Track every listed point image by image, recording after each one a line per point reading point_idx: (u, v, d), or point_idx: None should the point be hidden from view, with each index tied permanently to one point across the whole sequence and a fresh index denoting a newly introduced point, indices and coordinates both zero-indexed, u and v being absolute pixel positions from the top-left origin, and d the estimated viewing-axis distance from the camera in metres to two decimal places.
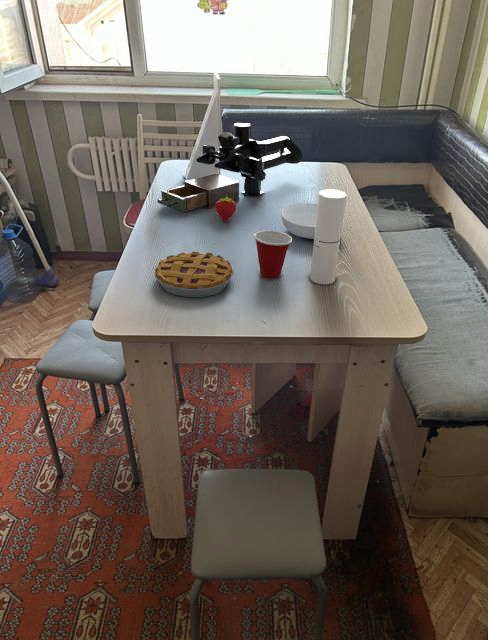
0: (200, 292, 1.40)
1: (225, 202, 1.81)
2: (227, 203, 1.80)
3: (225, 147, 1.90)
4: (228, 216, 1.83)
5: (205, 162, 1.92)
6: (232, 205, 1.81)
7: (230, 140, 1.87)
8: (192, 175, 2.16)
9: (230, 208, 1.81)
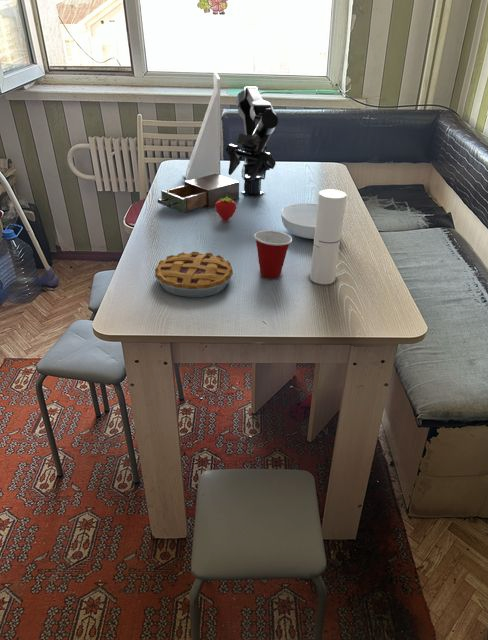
0: (200, 292, 1.40)
1: (225, 202, 1.81)
2: (227, 203, 1.80)
3: (248, 146, 1.81)
4: (228, 216, 1.83)
5: (236, 166, 1.88)
6: (232, 205, 1.81)
7: (250, 143, 1.77)
8: (192, 175, 2.16)
9: (230, 208, 1.81)
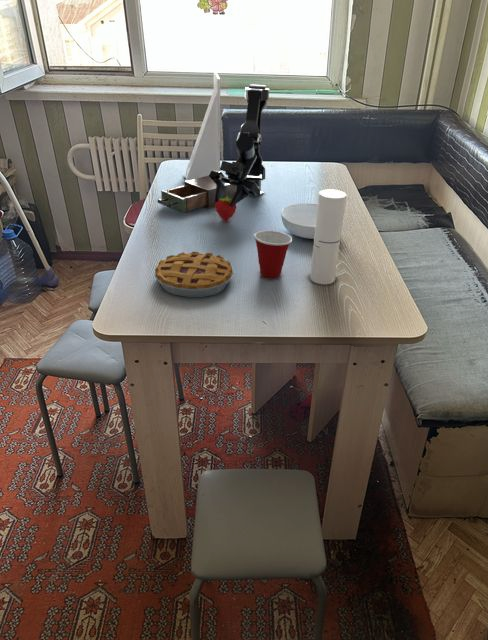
0: (200, 292, 1.40)
1: (225, 202, 1.81)
2: (227, 203, 1.80)
3: (231, 173, 1.79)
4: (228, 216, 1.83)
5: (223, 193, 1.85)
6: None
7: (234, 170, 1.75)
8: (192, 175, 2.16)
9: (230, 208, 1.81)
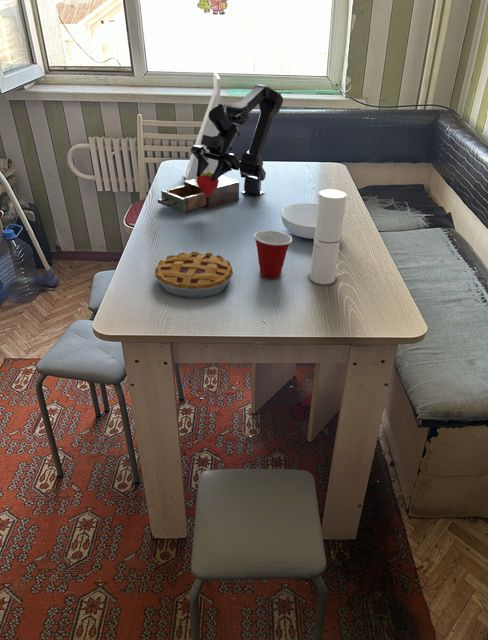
0: (200, 292, 1.40)
1: (207, 177, 1.81)
2: (209, 178, 1.81)
3: (212, 147, 1.80)
4: (210, 191, 1.84)
5: (204, 168, 1.85)
6: None
7: (214, 144, 1.76)
8: (192, 175, 2.16)
9: (212, 182, 1.82)
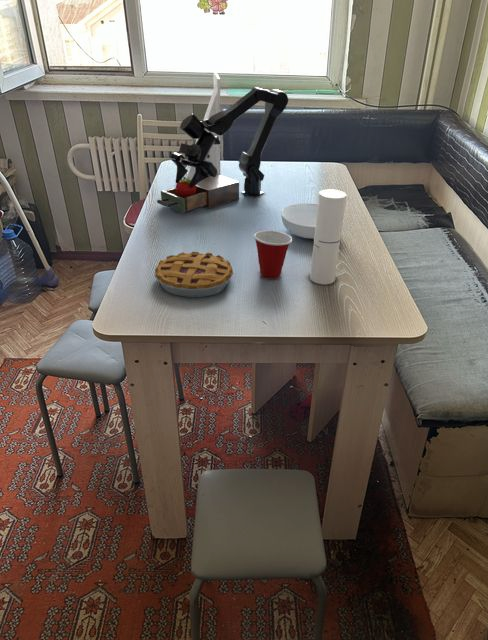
0: (200, 292, 1.40)
1: (185, 183, 1.90)
2: (187, 184, 1.90)
3: (190, 155, 1.88)
4: None
5: (183, 175, 1.94)
6: None
7: (192, 152, 1.84)
8: (192, 175, 2.16)
9: (190, 188, 1.90)
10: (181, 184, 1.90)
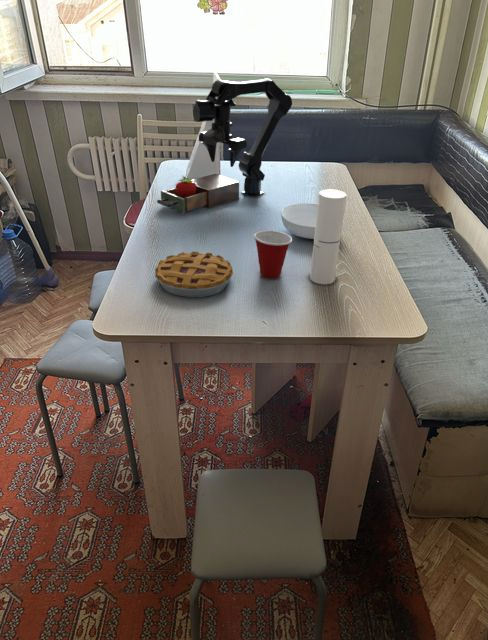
0: (200, 292, 1.40)
1: (185, 183, 1.90)
2: (187, 184, 1.90)
3: None
4: None
5: (215, 149, 1.99)
6: (191, 186, 1.90)
7: (216, 141, 1.87)
8: (192, 175, 2.16)
9: (190, 188, 1.90)
10: (181, 184, 1.90)
